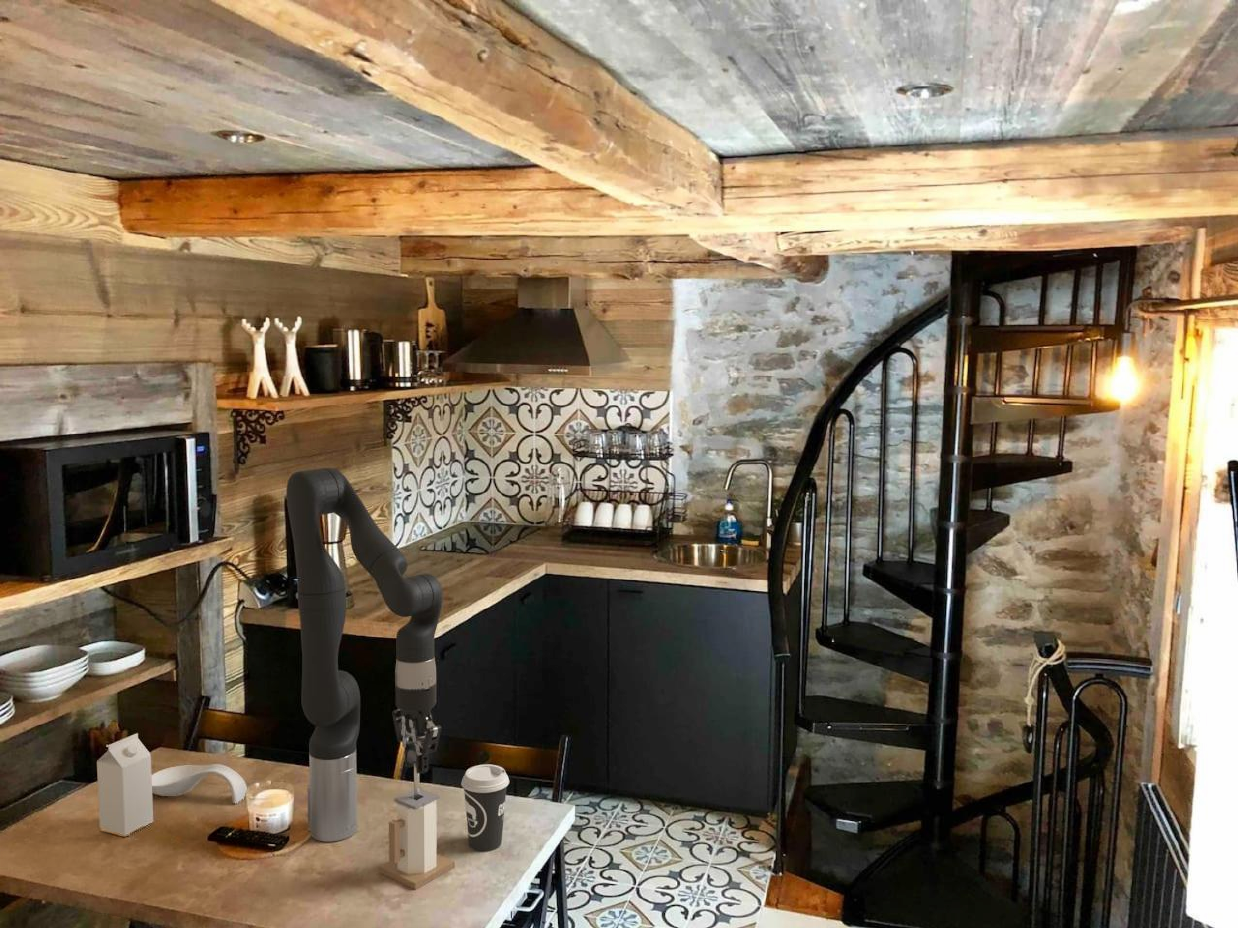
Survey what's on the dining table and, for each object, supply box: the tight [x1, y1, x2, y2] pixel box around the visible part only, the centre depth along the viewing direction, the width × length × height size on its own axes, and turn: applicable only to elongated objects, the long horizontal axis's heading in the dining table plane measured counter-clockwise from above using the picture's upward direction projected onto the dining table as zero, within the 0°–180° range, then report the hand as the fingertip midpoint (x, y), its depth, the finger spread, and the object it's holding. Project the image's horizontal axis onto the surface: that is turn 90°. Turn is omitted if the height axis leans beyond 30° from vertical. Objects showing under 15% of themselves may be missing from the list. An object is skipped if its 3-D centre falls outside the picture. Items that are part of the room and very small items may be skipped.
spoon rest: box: [151, 763, 248, 805], centre depth 220 cm, size 24×12×7 cm, turn 76°
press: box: [379, 787, 456, 890], centre depth 188 cm, size 10×11×15 cm
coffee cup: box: [460, 763, 510, 852], centre depth 199 cm, size 10×10×15 cm
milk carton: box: [96, 732, 154, 835], centre depth 204 cm, size 7×7×19 cm
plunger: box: [407, 745, 423, 800], centre depth 188 cm, size 5×5×14 cm
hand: (416, 768), depth 187 cm, fingers closed on plunger, 3 cm apart
